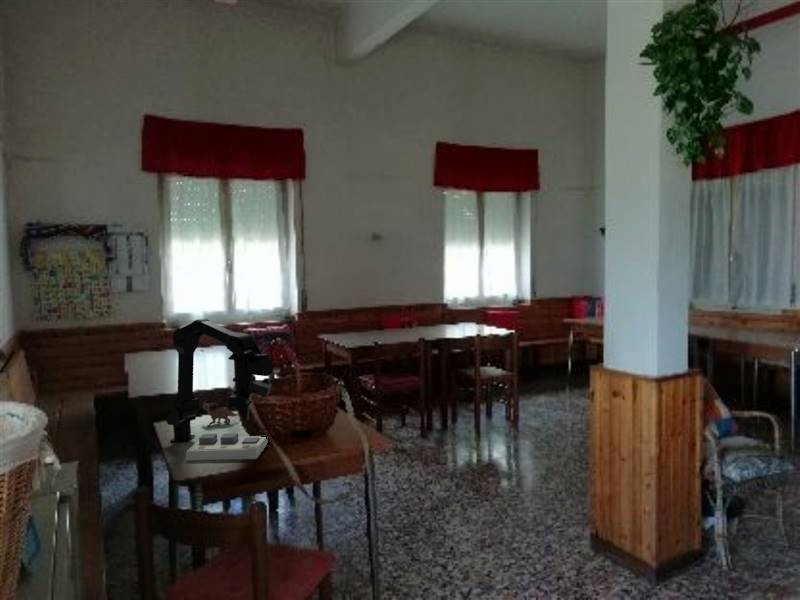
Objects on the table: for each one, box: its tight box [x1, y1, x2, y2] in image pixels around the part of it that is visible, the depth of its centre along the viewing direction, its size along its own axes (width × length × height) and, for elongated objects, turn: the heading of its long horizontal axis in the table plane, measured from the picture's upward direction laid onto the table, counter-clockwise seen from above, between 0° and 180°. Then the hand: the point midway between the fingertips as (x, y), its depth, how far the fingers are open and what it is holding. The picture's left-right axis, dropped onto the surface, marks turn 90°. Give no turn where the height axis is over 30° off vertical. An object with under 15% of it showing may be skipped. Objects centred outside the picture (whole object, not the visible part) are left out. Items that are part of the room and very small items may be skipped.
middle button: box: [220, 432, 239, 444], centre depth 198 cm, size 4×4×2 cm
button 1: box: [198, 433, 218, 445], centre depth 198 cm, size 4×4×2 cm
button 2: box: [242, 437, 259, 444], centre depth 198 cm, size 4×4×2 cm
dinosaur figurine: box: [202, 399, 238, 427], centre depth 231 cm, size 14×6×9 cm, turn 94°
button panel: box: [186, 435, 268, 461], centre depth 197 cm, size 14×22×3 cm, turn 88°
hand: (245, 421), depth 197 cm, fingers closed
